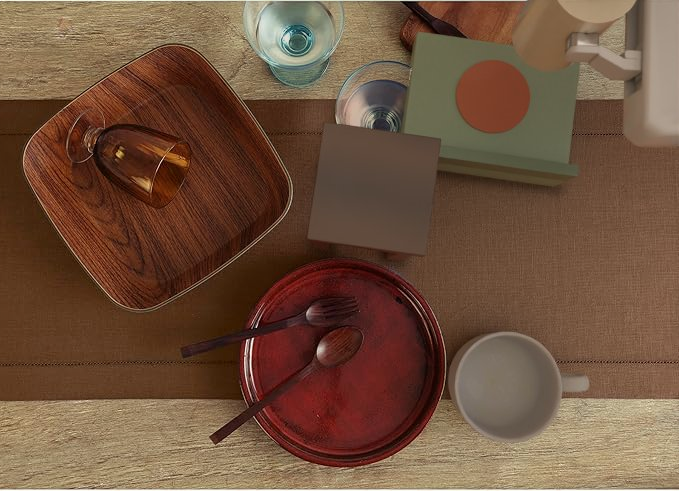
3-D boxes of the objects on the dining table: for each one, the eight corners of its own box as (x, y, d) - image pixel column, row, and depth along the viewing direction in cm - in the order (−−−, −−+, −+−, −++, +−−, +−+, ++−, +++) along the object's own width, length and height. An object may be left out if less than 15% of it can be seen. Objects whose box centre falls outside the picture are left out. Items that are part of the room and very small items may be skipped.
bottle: (510, -1, 49) (567, -94, 37) (584, 0, 49) (664, -93, 37) (511, 71, 49) (569, 0, 37) (585, 72, 49) (667, 2, 37)
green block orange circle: (412, 45, 70) (421, 19, 63) (567, 68, 70) (593, 44, 63) (396, 164, 69) (403, 151, 62) (552, 187, 69) (577, 176, 62)
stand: (325, 163, 69) (323, 121, 51) (412, 175, 69) (441, 138, 51) (312, 250, 68) (306, 239, 50) (400, 263, 68) (425, 256, 50)
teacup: (433, 416, 67) (448, 434, 59) (448, 319, 68) (463, 324, 60) (557, 436, 68) (588, 456, 60) (570, 338, 68) (602, 346, 60)
